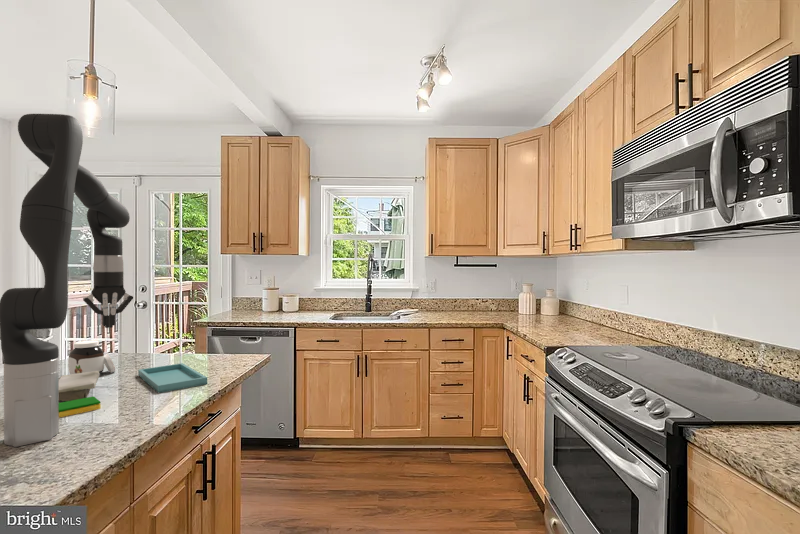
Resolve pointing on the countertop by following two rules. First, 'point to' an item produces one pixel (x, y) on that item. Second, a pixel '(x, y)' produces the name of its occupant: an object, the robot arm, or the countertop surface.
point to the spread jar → (88, 358)
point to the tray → (172, 377)
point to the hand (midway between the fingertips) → (108, 327)
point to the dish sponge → (78, 406)
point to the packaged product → (77, 385)
